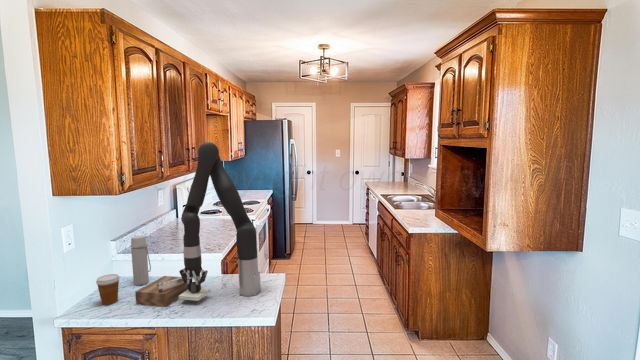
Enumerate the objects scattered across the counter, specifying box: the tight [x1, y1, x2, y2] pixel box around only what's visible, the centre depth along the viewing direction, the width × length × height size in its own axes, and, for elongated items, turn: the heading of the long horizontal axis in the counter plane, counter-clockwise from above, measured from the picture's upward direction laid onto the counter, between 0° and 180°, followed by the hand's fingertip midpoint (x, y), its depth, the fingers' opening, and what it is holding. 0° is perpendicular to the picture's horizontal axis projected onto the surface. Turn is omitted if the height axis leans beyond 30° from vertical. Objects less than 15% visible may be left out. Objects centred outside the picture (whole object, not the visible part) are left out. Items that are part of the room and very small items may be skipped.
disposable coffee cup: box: [95, 273, 120, 306], centre depth 167 cm, size 10×10×12 cm
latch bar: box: [157, 276, 194, 289], centre depth 168 cm, size 2×19×2 cm, turn 138°
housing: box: [134, 275, 188, 308], centre depth 172 cm, size 16×20×8 cm
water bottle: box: [130, 234, 152, 286], centre depth 190 cm, size 9×8×25 cm
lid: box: [178, 281, 211, 302], centre depth 166 cm, size 10×10×6 cm
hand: (194, 291), depth 166 cm, fingers closed on lid, 3 cm apart
